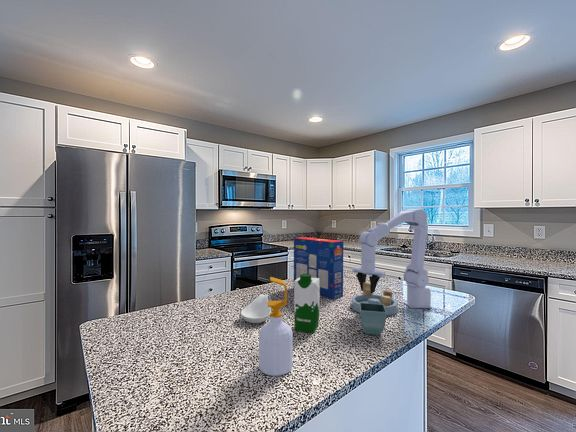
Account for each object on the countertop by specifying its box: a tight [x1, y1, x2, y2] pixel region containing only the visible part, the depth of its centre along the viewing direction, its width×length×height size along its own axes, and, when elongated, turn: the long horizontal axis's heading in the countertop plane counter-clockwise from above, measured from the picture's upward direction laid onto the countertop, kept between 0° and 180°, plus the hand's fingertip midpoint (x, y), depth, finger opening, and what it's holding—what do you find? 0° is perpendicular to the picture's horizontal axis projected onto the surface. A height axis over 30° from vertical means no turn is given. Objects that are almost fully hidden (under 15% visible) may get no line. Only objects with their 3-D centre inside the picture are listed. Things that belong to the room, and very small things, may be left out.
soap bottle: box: [258, 276, 294, 377], centre depth 80 cm, size 9×9×25 cm
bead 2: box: [382, 289, 393, 298], centre depth 139 cm, size 4×4×5 cm
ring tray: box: [350, 293, 399, 317], centre depth 130 cm, size 20×20×4 cm
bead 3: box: [381, 295, 391, 306], centre depth 126 cm, size 4×4×5 cm
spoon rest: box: [240, 293, 272, 324], centre depth 120 cm, size 24×12×7 cm, turn 171°
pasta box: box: [293, 236, 344, 300], centre depth 155 cm, size 28×8×28 cm, turn 42°
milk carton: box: [293, 274, 321, 334], centre depth 107 cm, size 9×9×20 cm
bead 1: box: [362, 281, 373, 296], centre depth 126 cm, size 4×4×5 cm
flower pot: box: [359, 303, 387, 336], centre depth 104 cm, size 9×9×9 cm
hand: (367, 291), depth 126 cm, fingers closed on bead 1, 4 cm apart
